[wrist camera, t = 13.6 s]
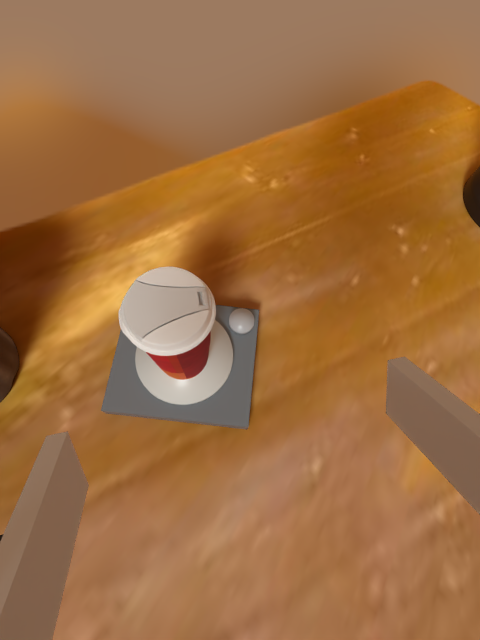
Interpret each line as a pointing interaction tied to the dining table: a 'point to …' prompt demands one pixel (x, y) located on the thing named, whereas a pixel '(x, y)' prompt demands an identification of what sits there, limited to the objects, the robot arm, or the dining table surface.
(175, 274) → the paper cup
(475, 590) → the dining table surface
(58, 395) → the dining table surface
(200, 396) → the grey flat block
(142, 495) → the dining table surface
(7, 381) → the plant pot
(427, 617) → the dining table surface
